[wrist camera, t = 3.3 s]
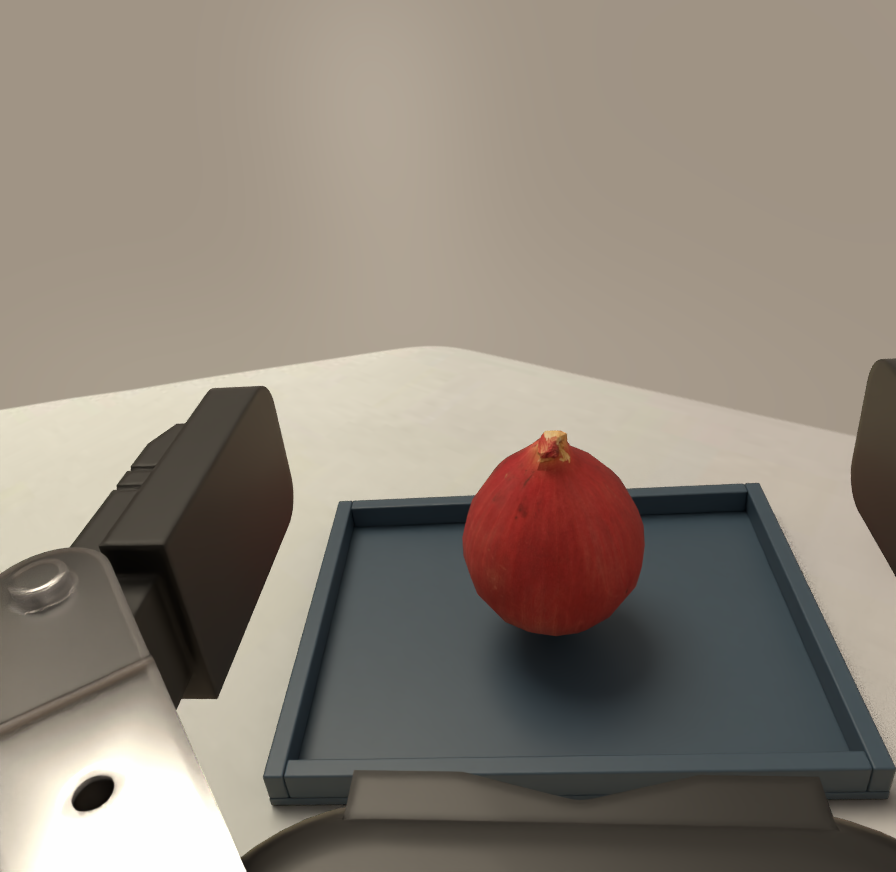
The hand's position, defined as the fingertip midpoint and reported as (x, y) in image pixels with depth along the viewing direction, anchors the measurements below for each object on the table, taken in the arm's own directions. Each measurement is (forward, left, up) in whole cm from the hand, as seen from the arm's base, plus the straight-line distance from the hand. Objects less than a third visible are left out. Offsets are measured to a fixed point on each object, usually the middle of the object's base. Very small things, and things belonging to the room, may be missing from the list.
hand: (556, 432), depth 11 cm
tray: (-2, +11, -15) cm, 19 cm away
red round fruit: (-2, +11, -15) cm, 19 cm away
